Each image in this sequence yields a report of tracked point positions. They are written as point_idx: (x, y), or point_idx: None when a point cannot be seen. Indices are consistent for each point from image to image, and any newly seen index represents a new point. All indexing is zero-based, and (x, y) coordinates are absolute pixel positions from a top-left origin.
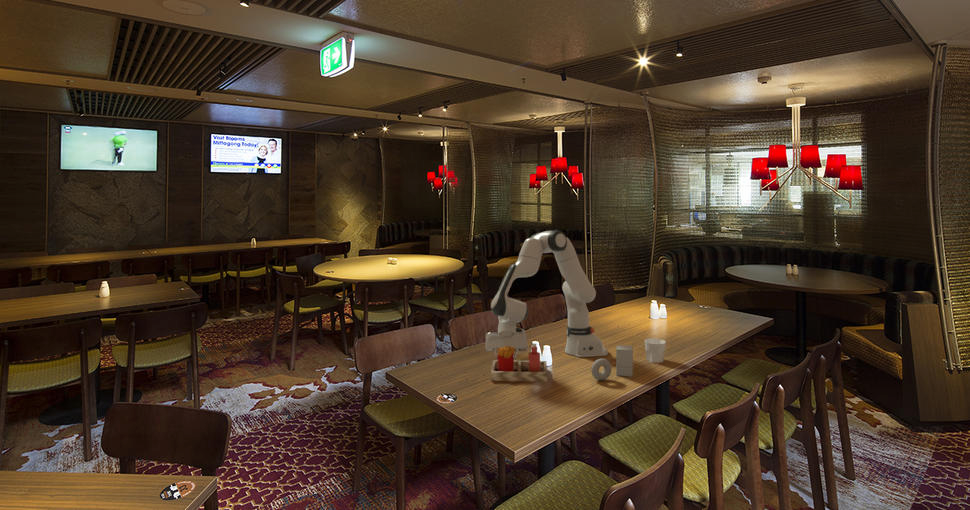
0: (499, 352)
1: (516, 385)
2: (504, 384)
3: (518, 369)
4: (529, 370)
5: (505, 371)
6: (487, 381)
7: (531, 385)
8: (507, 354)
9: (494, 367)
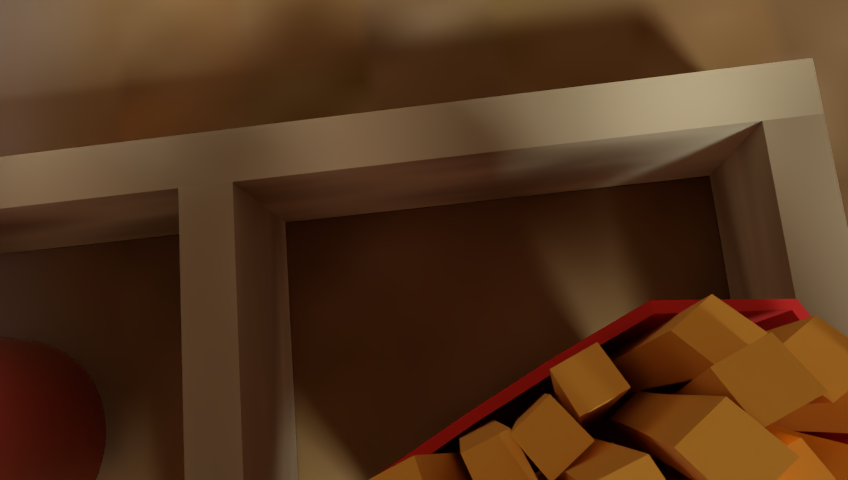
0: (835, 353)
1: (291, 4)
2: (483, 8)
3: (223, 312)
4: (14, 382)
5: (492, 148)
6: None
7: (68, 45)
8: (470, 442)
9: None
